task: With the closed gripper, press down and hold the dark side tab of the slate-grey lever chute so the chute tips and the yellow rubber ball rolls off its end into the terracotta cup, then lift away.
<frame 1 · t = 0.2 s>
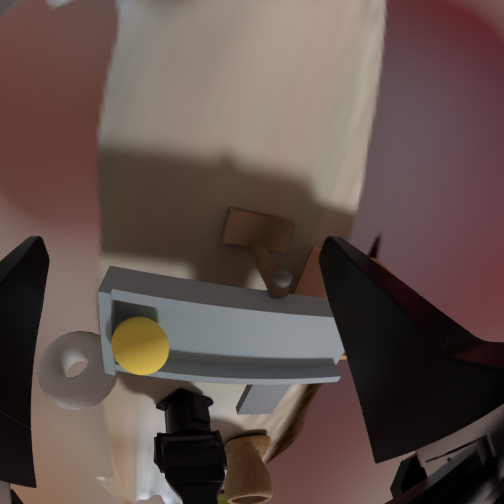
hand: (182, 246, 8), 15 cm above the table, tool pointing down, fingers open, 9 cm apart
lever stand: (239, 283, 28), on the table
tea box: (215, 484, 66), on the table
ball: (140, 346, 17), point 10 cm above the table, tilted 14°, touching lever
stone cup: (239, 444, 49), on the table
donut: (85, 334, 27), on the table
lever: (231, 374, 22), point 8 cm above the table, hinge at -3.0°, touching ball
cup: (330, 292, 31), on the table
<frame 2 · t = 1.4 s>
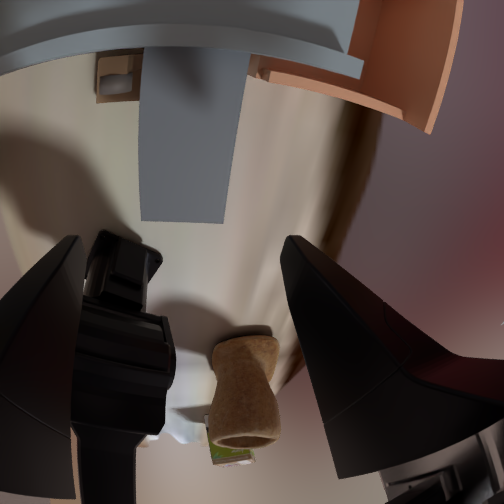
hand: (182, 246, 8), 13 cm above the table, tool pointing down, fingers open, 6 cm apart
tea box: (226, 416, 67), on the table
stone cup: (237, 354, 41), on the table
lever: (77, 54, 6), point 8 cm above the table, hinge at -3.0°, touching ball
cup: (321, 20, 13), on the table
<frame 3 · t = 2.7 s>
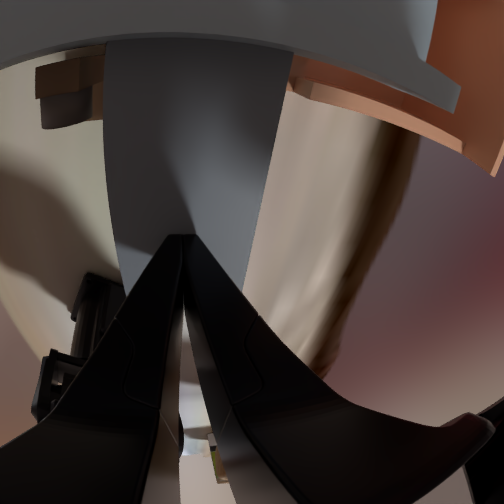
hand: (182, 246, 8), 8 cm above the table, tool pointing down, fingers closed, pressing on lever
tea box: (230, 434, 63), on the table
cup: (359, 15, 10), on the table
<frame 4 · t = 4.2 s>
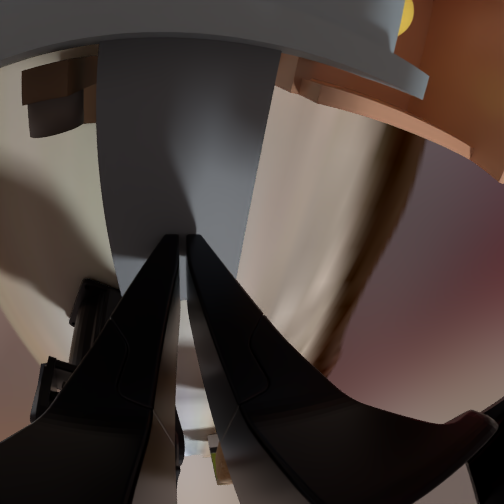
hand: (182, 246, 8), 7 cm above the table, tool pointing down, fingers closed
tea box: (230, 435, 63), on the table
ball: (368, 1, 7), point 2 cm above the table, tilted 118°, touching cup
stone cup: (243, 387, 36), on the table
cup: (365, 15, 9), on the table
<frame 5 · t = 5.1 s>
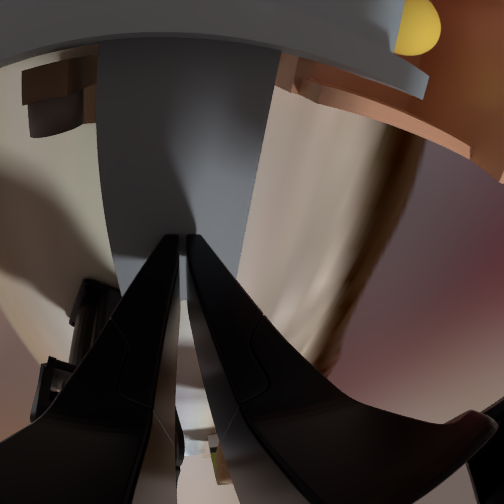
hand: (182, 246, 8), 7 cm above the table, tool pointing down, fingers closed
tea box: (230, 435, 63), on the table
ball: (399, 18, 7), point 2 cm above the table, tilted 171°, touching cup
stone cup: (243, 387, 36), on the table
cup: (365, 15, 9), on the table
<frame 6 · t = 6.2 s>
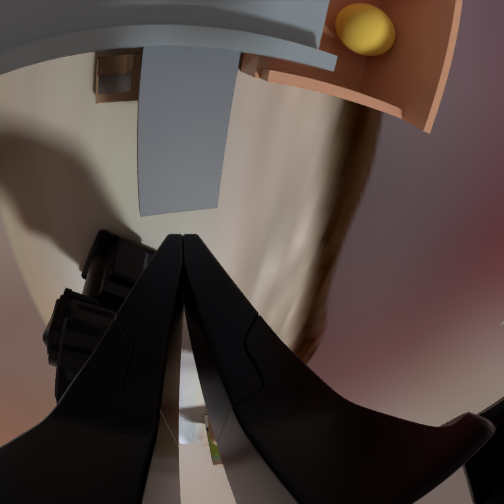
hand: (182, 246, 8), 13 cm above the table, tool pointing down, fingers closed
tea box: (226, 417, 67), on the table
ball: (365, 29, 12), point 2 cm above the table, tilted 139°, touching cup
lever: (76, 53, 6), point 9 cm above the table, hinge at 12.1°
cup: (320, 19, 13), on the table
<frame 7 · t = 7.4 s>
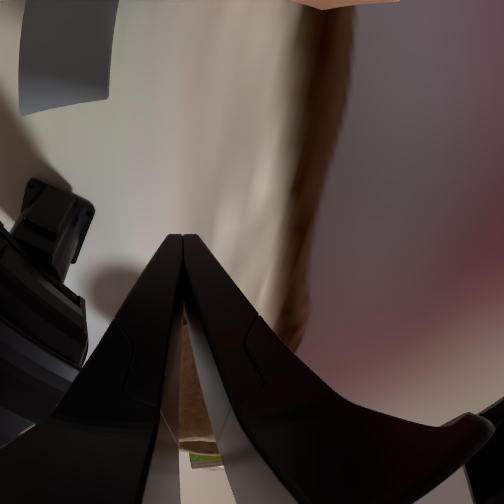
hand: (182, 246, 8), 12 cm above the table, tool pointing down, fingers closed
tea box: (209, 416, 61), on the table
stone cup: (205, 343, 35), on the table
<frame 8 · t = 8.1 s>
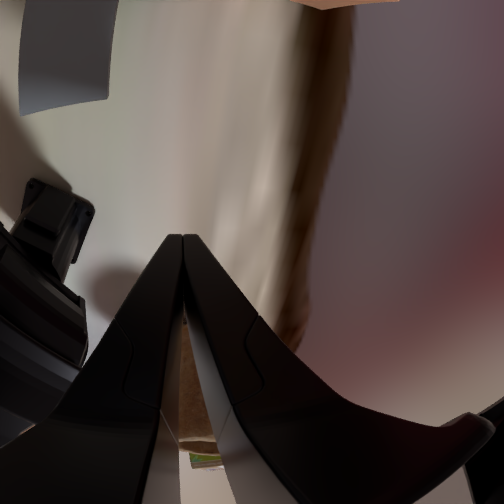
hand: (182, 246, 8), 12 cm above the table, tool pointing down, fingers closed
tea box: (209, 416, 61), on the table
stone cup: (205, 343, 35), on the table
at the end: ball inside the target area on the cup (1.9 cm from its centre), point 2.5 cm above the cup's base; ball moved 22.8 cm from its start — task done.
